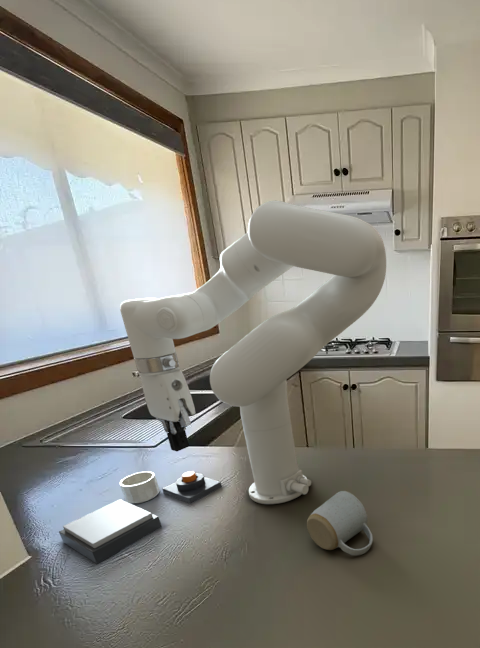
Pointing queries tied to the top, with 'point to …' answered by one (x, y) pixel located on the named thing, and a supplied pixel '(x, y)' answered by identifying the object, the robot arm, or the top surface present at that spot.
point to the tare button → (189, 476)
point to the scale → (109, 530)
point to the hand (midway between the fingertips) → (180, 448)
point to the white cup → (139, 487)
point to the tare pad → (192, 488)
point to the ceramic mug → (339, 523)
